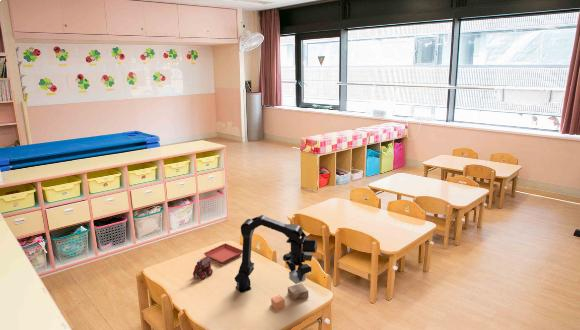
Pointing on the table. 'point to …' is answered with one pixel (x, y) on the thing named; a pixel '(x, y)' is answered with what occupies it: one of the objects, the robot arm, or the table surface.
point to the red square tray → (223, 253)
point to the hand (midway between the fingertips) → (297, 277)
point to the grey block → (295, 277)
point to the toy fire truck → (203, 268)
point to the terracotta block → (278, 302)
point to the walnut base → (298, 292)
